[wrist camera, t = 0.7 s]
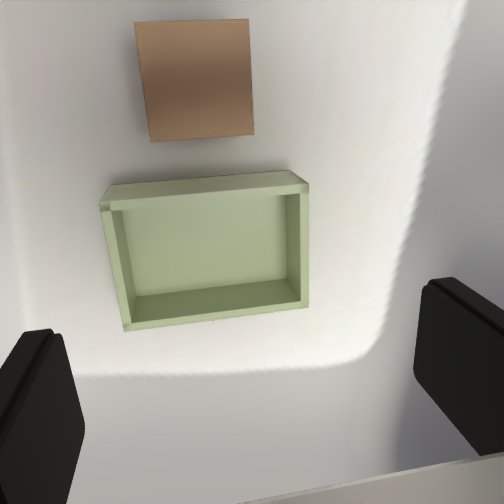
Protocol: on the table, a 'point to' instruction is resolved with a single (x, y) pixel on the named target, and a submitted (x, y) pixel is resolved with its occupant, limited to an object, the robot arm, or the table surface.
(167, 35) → the walnut block
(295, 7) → the table surface
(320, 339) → the table surface
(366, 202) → the table surface
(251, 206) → the box
